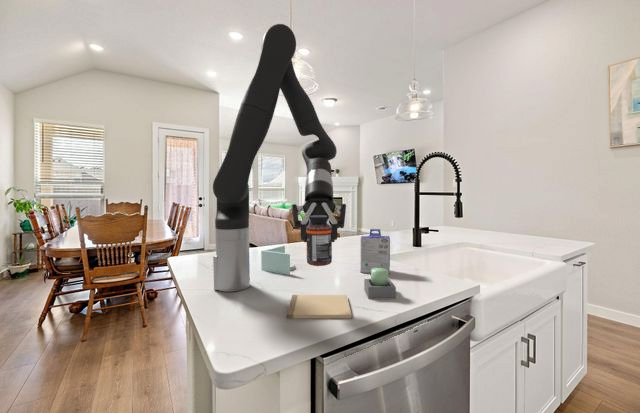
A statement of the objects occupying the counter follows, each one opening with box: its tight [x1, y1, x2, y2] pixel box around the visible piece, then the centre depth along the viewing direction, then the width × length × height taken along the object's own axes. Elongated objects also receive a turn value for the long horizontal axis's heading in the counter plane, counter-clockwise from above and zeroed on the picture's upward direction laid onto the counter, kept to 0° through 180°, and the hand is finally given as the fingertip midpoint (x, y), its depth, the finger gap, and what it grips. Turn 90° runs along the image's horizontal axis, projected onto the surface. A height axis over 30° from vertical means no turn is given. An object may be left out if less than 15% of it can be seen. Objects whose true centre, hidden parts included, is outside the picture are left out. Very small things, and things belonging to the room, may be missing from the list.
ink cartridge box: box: [360, 228, 391, 275], centre depth 99 cm, size 10×6×14 cm, turn 78°
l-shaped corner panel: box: [260, 244, 296, 276], centre depth 104 cm, size 12×12×8 cm
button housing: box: [363, 278, 397, 300], centre depth 77 cm, size 7×7×3 cm
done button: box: [370, 268, 389, 285], centre depth 77 cm, size 4×4×4 cm
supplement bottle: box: [306, 215, 333, 267], centre depth 68 cm, size 6×6×11 cm
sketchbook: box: [286, 294, 352, 319], centre depth 68 cm, size 14×12×1 cm
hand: (319, 240), depth 67 cm, fingers closed on supplement bottle, 6 cm apart
